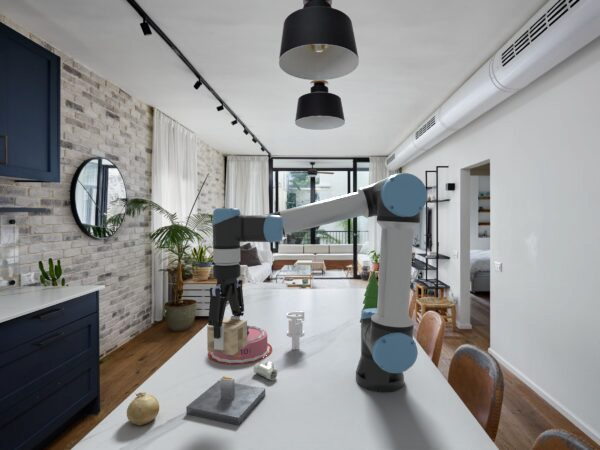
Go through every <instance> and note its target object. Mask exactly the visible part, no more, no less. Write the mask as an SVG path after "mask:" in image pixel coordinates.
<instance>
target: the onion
mask: <svg viewBox="0 0 600 450" xmlns="http://www.w3.org/2000/svg"><path fill="white" fill-rule="evenodd" d="M159 412H160V403H159V401H158V399H157V398H156V397H155V396H153V395H151V394H150V393H149V394H148V393H147V392H142V391H141V392H138V393H135V398H134V399H133V400H131V402H129V404H128V407H127V408H126V417H127V420H128V421H129V422H130V423H131V424H133V425H135V426H139V427H142V426H145V425H147V424H149V423H150V422H152V421H153V420H155V418H156V417H157V416H158V414H159Z"/></svg>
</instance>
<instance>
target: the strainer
mask: <svg viewBox="0 0 600 450" xmlns="http://www.w3.org/2000/svg"><path fill="white" fill-rule="evenodd" d="M286 318H287V319H288V330H287V331H286V336H287V337H289V338H291V349H292V350H295V351H296V350H300V343H301V342H300V338H303V337H304V336H305V330H303V325H304V324H303V322H305V310H304V311H301V310H297V311H290V312H289V311H288V312H287V313H286Z"/></svg>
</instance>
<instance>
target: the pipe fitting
mask: <svg viewBox="0 0 600 450" xmlns="http://www.w3.org/2000/svg"><path fill="white" fill-rule="evenodd" d="M253 373H255V374H256V375H258V376H262V377H264V378H265V379H267V380H270V381H272V382H273V381H275V380H276V379H277V377H278V369H275V364H274V363H273V362H272V361H267V362H265V363H264V364H263V363H260V362H255V364H254V365H253Z"/></svg>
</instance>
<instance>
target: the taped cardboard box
mask: <svg viewBox="0 0 600 450" xmlns="http://www.w3.org/2000/svg"><path fill="white" fill-rule="evenodd" d="M222 325H224V350H217V349H214V327H213V326H210V325H207V327H206V329H207V330H206V331H207V332H206V334H207V335H206V338H207V340H206V342H207V343H206V344H207V347H206V348H207V352H215V353H222V354H229V355H234V354H235V353H237V352H238V351H239V350H241V349H242V348H243V347H245V346H246V345H247V326H248V320H244V319H240V320H237V319H231V318H227V317H226V318H225V317H224V318H223V322H222Z"/></svg>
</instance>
